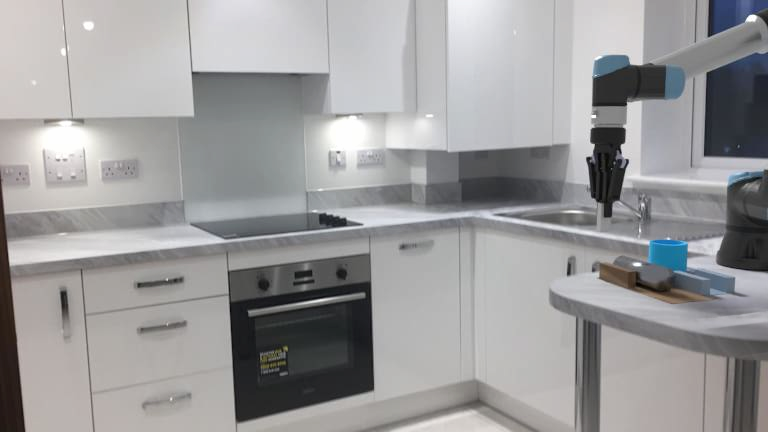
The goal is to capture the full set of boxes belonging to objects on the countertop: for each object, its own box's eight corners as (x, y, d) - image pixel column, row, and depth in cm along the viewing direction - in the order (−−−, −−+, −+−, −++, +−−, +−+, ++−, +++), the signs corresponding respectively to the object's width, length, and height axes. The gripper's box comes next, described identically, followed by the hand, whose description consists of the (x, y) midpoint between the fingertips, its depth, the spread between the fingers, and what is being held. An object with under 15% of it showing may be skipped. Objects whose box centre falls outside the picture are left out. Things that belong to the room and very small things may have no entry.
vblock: (699, 288, 149) (700, 268, 148) (736, 299, 140) (737, 277, 139) (668, 291, 147) (669, 270, 146) (703, 303, 137) (704, 280, 137)
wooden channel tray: (634, 280, 157) (635, 259, 156) (714, 306, 134) (715, 281, 134) (596, 284, 154) (596, 262, 154) (670, 311, 131) (672, 285, 131)
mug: (679, 283, 155) (681, 246, 154) (642, 278, 160) (643, 242, 159) (696, 273, 164) (697, 239, 163) (660, 269, 169) (662, 236, 168)
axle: (611, 278, 153) (612, 256, 152) (631, 277, 154) (632, 254, 154) (654, 293, 140) (655, 268, 139) (675, 291, 141) (676, 266, 140)
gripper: (577, 126, 161) (573, 228, 164) (611, 126, 148) (606, 236, 151) (605, 126, 163) (600, 226, 166) (641, 126, 150) (635, 235, 153)
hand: (603, 231), depth 158 cm, fingers closed
